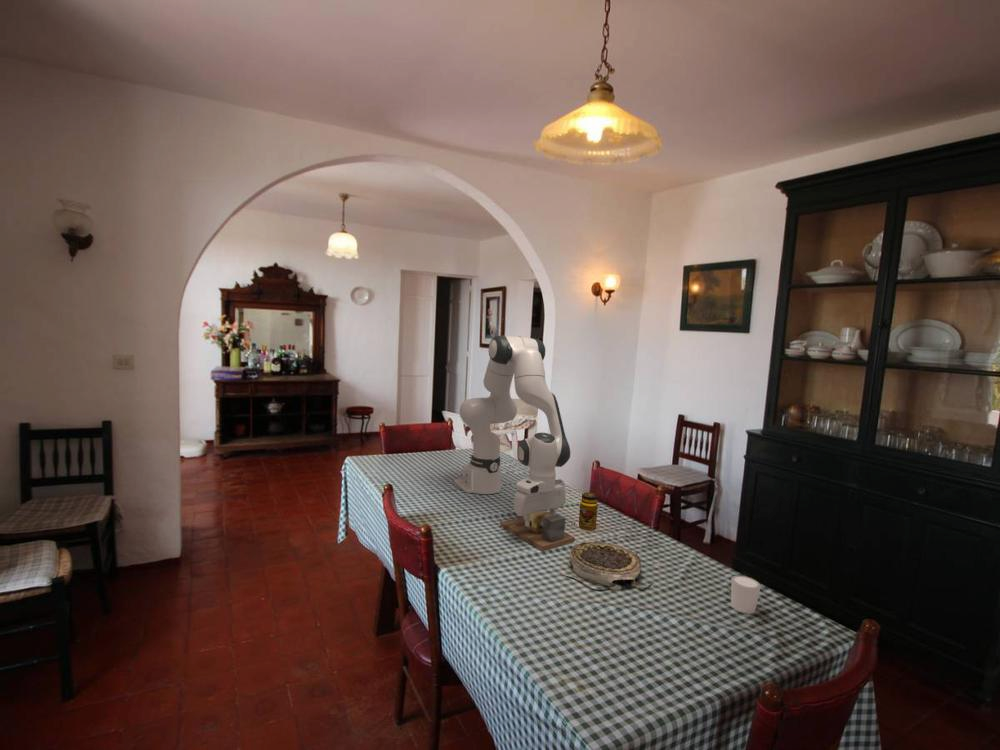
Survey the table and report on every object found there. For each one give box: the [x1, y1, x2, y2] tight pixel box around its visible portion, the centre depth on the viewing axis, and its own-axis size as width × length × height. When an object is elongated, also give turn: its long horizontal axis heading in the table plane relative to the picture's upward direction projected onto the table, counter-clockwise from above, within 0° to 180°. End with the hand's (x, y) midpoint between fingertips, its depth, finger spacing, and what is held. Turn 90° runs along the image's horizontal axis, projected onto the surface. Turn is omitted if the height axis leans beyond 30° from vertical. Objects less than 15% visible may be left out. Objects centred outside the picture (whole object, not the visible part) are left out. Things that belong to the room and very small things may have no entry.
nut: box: [529, 510, 550, 533], centre depth 168 cm, size 4×6×6 cm
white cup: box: [730, 575, 762, 615], centre depth 130 cm, size 7×7×7 cm
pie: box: [557, 541, 652, 591], centre depth 147 cm, size 28×27×5 cm
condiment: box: [572, 492, 601, 533], centre depth 177 cm, size 7×8×12 cm
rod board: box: [499, 513, 576, 552], centre depth 169 cm, size 22×14×8 cm, turn 37°
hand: (539, 523), depth 168 cm, fingers open, 8 cm apart
